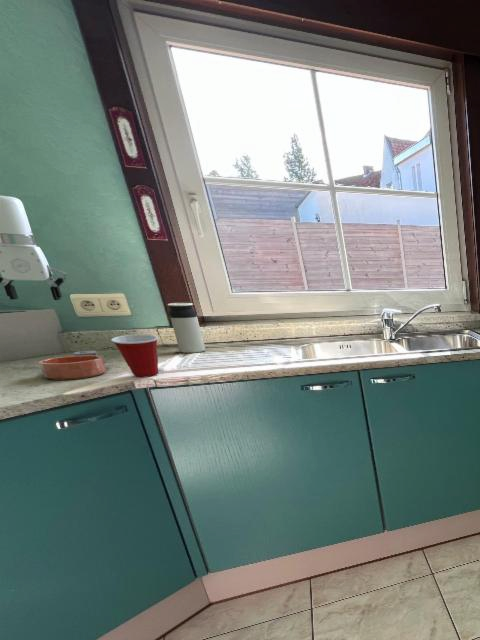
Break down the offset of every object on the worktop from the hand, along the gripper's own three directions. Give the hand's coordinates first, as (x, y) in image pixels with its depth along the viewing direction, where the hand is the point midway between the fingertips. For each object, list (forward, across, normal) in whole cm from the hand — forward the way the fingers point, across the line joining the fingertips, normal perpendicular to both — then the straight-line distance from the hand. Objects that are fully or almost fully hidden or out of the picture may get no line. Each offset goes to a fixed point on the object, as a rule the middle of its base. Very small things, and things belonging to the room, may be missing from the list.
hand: (36, 299), depth 155 cm
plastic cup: (+21, +28, -24) cm, 42 cm away
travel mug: (+20, +33, +18) cm, 43 cm away
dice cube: (+21, +9, -5) cm, 24 cm away
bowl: (+21, +9, -18) cm, 29 cm away
